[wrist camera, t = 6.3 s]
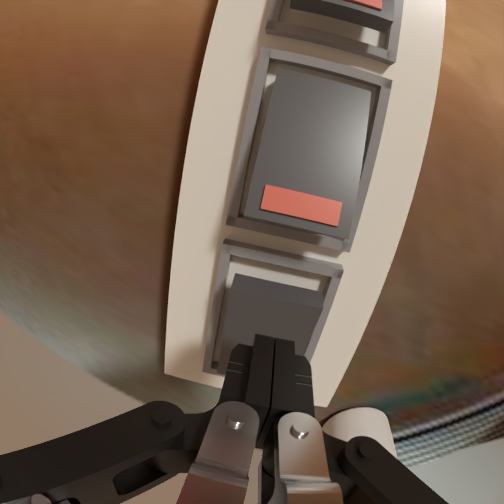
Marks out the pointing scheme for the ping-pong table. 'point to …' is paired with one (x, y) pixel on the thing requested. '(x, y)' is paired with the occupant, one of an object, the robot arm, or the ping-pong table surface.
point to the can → (361, 426)
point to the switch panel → (243, 163)
